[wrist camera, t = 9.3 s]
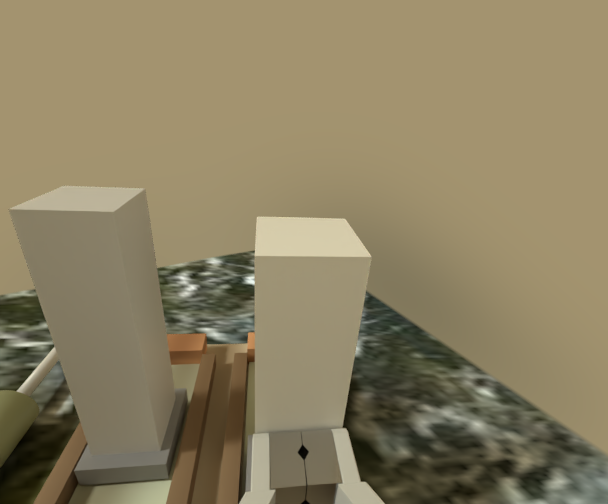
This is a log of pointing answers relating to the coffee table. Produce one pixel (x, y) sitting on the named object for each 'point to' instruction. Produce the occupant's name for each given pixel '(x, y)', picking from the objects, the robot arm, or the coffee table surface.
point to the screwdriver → (21, 407)
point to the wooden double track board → (184, 434)
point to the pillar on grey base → (106, 326)
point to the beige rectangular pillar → (305, 322)
